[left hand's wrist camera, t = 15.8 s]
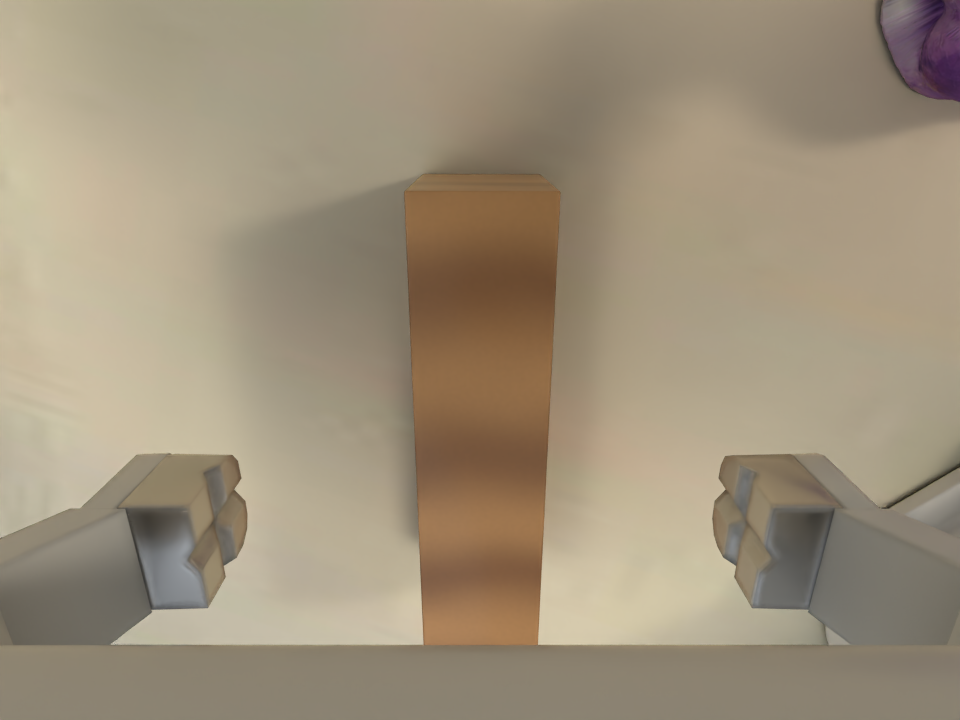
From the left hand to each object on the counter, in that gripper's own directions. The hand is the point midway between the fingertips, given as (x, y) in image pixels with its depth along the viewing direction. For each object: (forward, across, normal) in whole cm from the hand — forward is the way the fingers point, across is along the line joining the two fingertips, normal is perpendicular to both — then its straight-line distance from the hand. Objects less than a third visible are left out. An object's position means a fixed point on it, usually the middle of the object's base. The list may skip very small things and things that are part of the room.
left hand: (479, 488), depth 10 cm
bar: (+23, 0, -8) cm, 24 cm away
